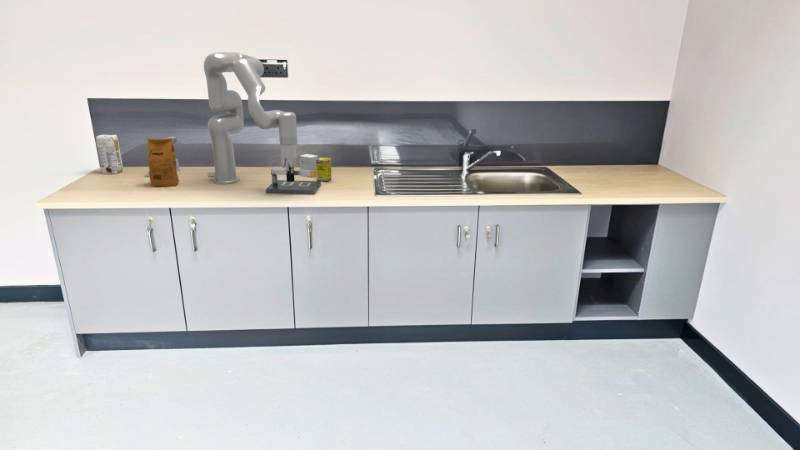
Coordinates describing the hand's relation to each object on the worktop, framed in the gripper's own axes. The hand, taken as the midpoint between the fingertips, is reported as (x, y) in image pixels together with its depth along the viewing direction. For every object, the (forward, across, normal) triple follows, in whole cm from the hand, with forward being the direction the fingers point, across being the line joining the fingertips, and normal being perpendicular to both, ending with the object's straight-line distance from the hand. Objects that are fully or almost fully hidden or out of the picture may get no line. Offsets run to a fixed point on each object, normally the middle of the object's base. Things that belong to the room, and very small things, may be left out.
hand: (290, 181), depth 225 cm
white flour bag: (+6, -27, -98) cm, 102 cm away
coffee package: (+6, -8, -62) cm, 63 cm away
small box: (+6, -32, +2) cm, 33 cm away
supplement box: (+6, -23, +11) cm, 26 cm away
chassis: (+5, -6, 0) cm, 8 cm away
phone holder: (+6, -28, -73) cm, 79 cm away
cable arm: (-1, -6, 0) cm, 6 cm away
